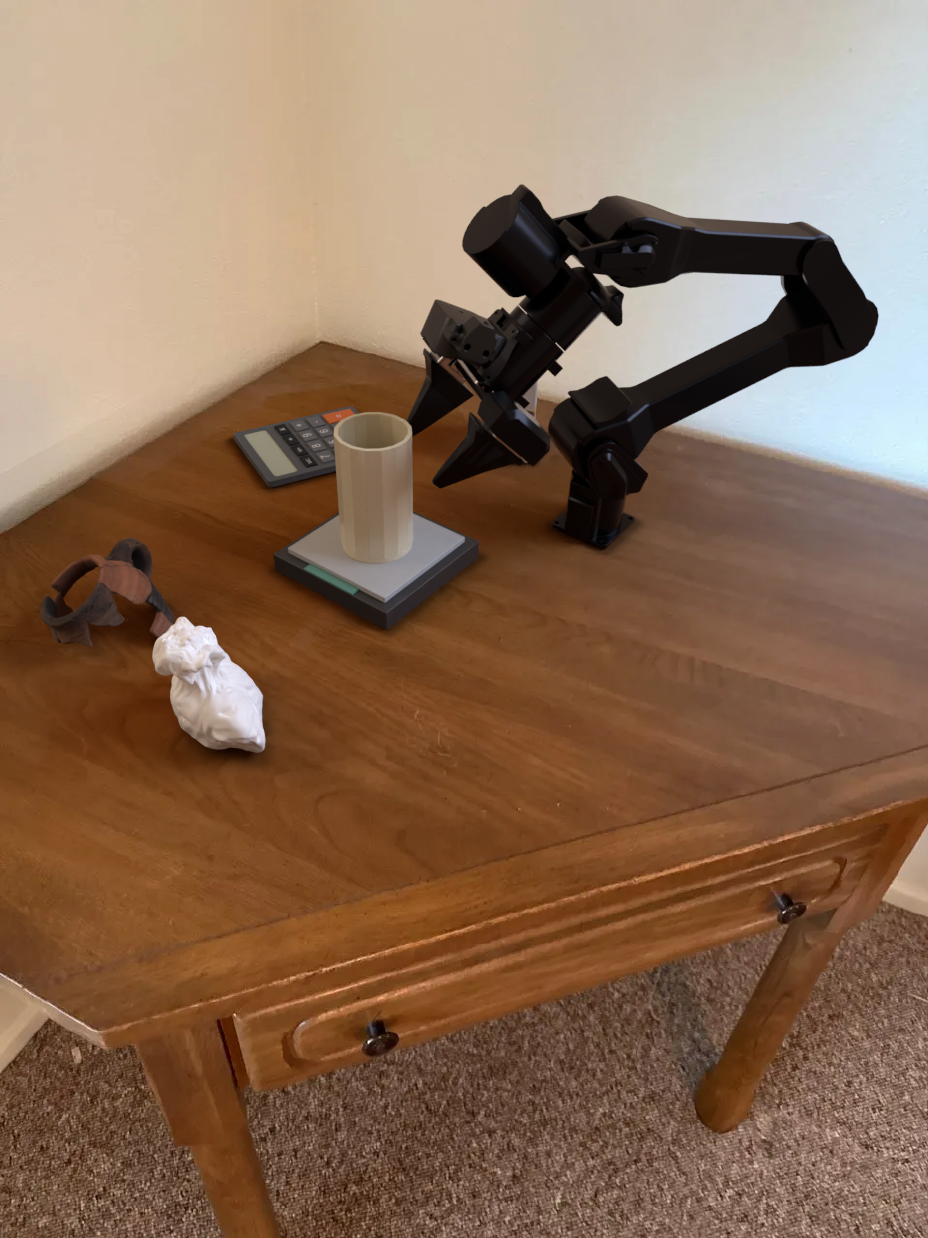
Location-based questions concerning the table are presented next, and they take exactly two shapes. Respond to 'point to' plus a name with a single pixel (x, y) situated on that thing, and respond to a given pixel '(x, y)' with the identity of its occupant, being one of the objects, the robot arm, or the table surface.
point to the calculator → (293, 447)
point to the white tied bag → (209, 689)
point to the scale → (377, 569)
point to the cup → (374, 486)
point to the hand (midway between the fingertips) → (419, 459)
